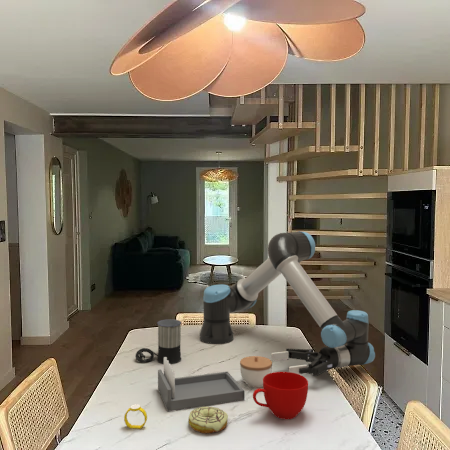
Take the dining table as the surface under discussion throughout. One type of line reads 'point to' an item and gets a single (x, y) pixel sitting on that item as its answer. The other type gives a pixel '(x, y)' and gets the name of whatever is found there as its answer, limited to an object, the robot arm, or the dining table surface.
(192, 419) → the decorated donut
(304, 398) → the ceramic cup
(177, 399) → the dish rack
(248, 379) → the lidded jar
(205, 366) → the dining table surface
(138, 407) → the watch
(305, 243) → the robot arm
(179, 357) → the milk frother
